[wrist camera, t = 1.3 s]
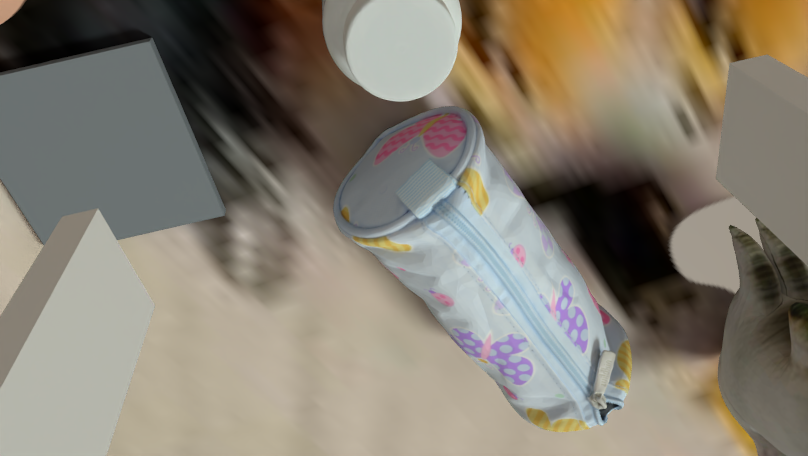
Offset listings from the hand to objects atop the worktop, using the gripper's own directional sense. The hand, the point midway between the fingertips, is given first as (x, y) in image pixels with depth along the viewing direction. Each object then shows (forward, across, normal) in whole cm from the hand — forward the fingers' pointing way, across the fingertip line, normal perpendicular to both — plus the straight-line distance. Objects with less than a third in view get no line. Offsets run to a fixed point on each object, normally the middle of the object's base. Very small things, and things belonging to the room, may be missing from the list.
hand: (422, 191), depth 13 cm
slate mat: (+19, +16, +5) cm, 25 cm away
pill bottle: (+20, 0, 0) cm, 20 cm away
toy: (+20, -21, +30) cm, 41 cm away
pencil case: (+20, -3, +16) cm, 26 cm away
